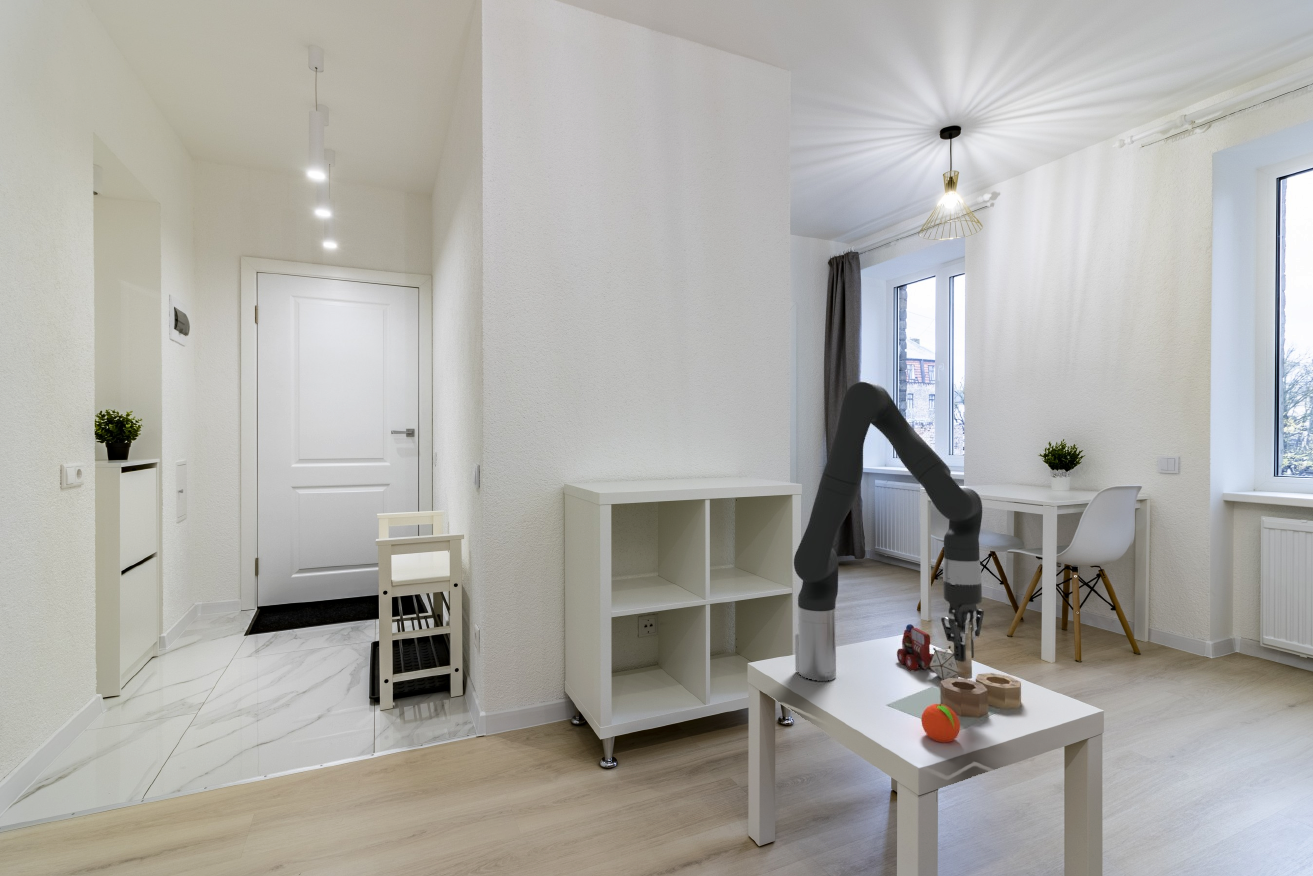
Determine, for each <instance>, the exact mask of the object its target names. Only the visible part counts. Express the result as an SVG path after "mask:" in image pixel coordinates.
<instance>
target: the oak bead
mask: <svg viewBox="0 0 1313 876" xmlns="http://www.w3.org/2000/svg"><path fill="white" fill-rule="evenodd" d="M975 682H978V683H981V684H983V685H984V687H985V688H986V689H987V690H988V706H991V707H994V708H998V709H1006V710H1007V709H1017V708H1019V709H1020V708H1021V705H1022V681H1019V680H1018V679H1015V678H1014V677H1012V676H1010V675H1005V674H1000V673H994V672H989V673H988V672H987V673H977V675H976V677H975Z"/></svg>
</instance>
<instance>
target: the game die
mask: <svg viewBox="0 0 1313 876" xmlns="http://www.w3.org/2000/svg"><path fill="white" fill-rule="evenodd" d="M951 647H952V646H951V645H949V646H948V648H944V649H943V648H942V649H936V647H932V650H933V651H934V653H931V654H932V656H933V657H932V659H931V662H930V664H929V666H926V668H925V669H930V668H931V669H930V670H931V671H933V672H934V673H935V675H937V676H938V677H939V679H941V681H942V680H945V679H948V678H959V677H958V666H957V660H955V659H954V650H952V649H951ZM928 667H930V668H928Z"/></svg>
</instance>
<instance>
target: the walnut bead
mask: <svg viewBox="0 0 1313 876" xmlns="http://www.w3.org/2000/svg"><path fill="white" fill-rule="evenodd" d="M939 686H940V688H939V689H940V700H941V704H942V705H945V706H947V707H949V708H950V709H952V710H953V711H954V712H955V714H956V715H958V716H961V717H975V718H980V717H982V716H984V715H986V714H988V706H989V705H988V690H987V689H986V688H985V687H984V685H983V684H981V683H978V682H976V680H975V681H974V680H971V679H964V678H960V677H958V678H948V679H945V680H942V679H941V680H940V685H939Z"/></svg>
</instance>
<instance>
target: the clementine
mask: <svg viewBox="0 0 1313 876" xmlns="http://www.w3.org/2000/svg"><path fill="white" fill-rule="evenodd" d="M920 719H921V718H920ZM921 726H922V728H923V730H924V733H925V734H926V735H927V736H928V737H929V738H930V739H932V740H933V741H936V742H938V743H939V742H940V743H951V742H952V741H954V740H956V738H957V737H958V736H959V734H960V731H961V730H960V722H959V719H958V717H957V715H956V714H955V712H954V711H953V710H952V709H950V708H949V707H947V706H945V705H942V704H933V705H930V706H928V707H927V708H926V709H925V710H924V712H923V714H922V719H921Z"/></svg>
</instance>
